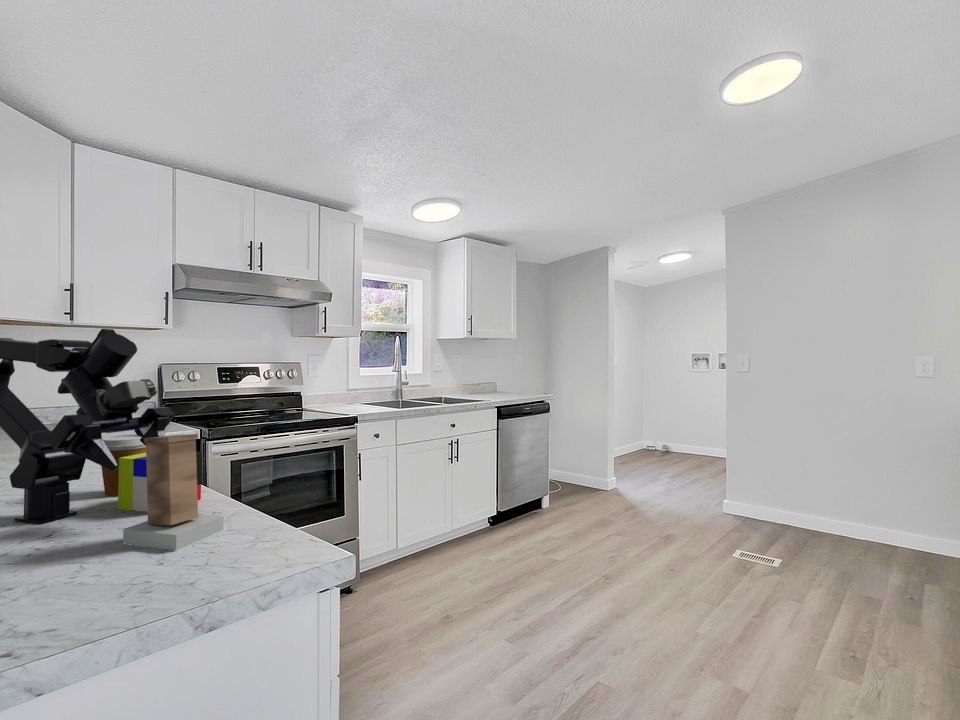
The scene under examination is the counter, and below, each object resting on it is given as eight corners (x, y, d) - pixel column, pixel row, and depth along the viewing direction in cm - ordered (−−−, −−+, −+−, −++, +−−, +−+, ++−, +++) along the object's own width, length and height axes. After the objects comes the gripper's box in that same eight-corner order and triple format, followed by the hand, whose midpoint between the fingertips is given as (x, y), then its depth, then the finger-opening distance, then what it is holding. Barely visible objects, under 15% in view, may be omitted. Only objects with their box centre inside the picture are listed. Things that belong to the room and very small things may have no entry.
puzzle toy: (162, 513, 97) (163, 460, 97) (117, 509, 99) (119, 457, 99) (200, 500, 107) (201, 452, 107) (159, 496, 109) (160, 449, 109)
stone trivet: (122, 548, 80) (123, 529, 80) (174, 528, 90) (174, 511, 90) (176, 554, 78) (176, 535, 78) (223, 533, 88) (223, 516, 88)
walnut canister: (145, 524, 82) (143, 438, 83) (176, 516, 87) (173, 435, 88) (170, 525, 80) (168, 437, 81) (199, 517, 86) (197, 434, 86)
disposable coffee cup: (83, 496, 108) (85, 439, 108) (124, 486, 117) (125, 433, 117) (120, 499, 105) (122, 441, 106) (159, 489, 115) (160, 435, 115)
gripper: (63, 363, 79) (113, 440, 76) (168, 364, 97) (213, 426, 94) (26, 411, 81) (74, 488, 78) (136, 403, 99) (179, 465, 96)
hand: (142, 463), depth 86 cm, fingers open, 9 cm apart
